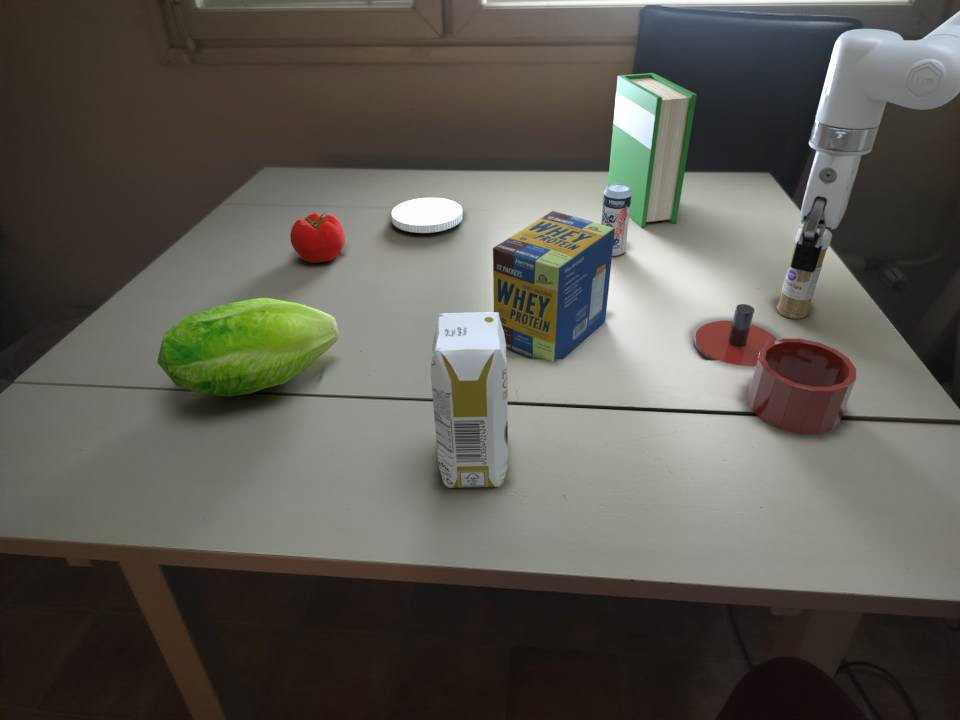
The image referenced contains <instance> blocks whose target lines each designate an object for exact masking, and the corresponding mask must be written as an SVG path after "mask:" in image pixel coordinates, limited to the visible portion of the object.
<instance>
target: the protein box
mask: <svg viewBox="0 0 960 720" xmlns="http://www.w3.org/2000/svg"><path fill="white" fill-rule="evenodd" d="M614 233H615V228H613V227H609V226H606V225H602V224H601V223H599V222H598V223H597V222H596V221H595V222H594V221H591V220H587V219H584V218H580V217H577V216H573V215H569V214H565V213H562V212H558V211H554V210H551V211H550V212H548V213H547V214H544V216H542V217H541V218H539V219H537V220H536V221H534V222H532V223H530V224H529V225H528V226H526V227H524V228H522V229H521V230H520V231H518V232H516V233H514V234H513V235H511V236H509V237H508V238H507V239H505V240H503V241H502V242H500V243H498V244H497V245H495V246H493V247H492V274H493V275H492V278H493V280H492V283H493V285H492V288H493V289H492V291H493V312H499V318H500V321H501V325H502V328H503V332H504V336H505V341H506V350H510V351H512V352H515V353H517V354H519V355H521V356H524V357H527V358H529V359H532V360H547V361H550V362H556V361H557V360H563V359H564V358H566V356H568V355H569V354H570V353H571V352H572V351H573V350H574V349H575V348H577V347H578V346H579V345H580V344H581V343H582V342H583V341H585V340H586V339H587V338H588V337H589V336H590V335H591V334H593V333H594V331H596V330H597V329H598V328H599V327H600V326H602V324H604V323H605V322H606V319H607V308H608V298H609V291H610V280H611V270H612V261H613V256H612V251H613V242H614Z"/></svg>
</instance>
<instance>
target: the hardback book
mask: <svg viewBox="0 0 960 720" xmlns="http://www.w3.org/2000/svg"><path fill="white" fill-rule="evenodd" d="M616 79H617V80H616V90H615V101H614V110H613V111H614V113H613V123H612V135H611V144H610V145H611V146H610V156H609V168H608V178H607V186H608V185H611V184H624V185H627V186H629V187H630V190H631V192H632V195H631V204H630V213H629V218H630V219H632V220H633V221H634V222H635V223H636V224H637V225H638V226H639V227H640V228H646V226H647V223H650V222H658V221H668V222H670V223H671V224H677V222H678V216H679V210H680V203H681V197H682V190H683V184H684V178H685V173H686V167H687V166H686V165H687V159H688V152H689V147H690V140H691V134H692V126H693V120H694V116H695V108H696V101H697V96H698V95H697V93H695V92H692V91H691V90H688V89H686V88H684V87H683V86H680V85H679V84H677V83H674V82H672V81H671V80H668V79H667V78H664V77H662V76H660V75H658V74H656V73H654V72H647V73H646V72H645V73H637V74H636V73H635V74H634V73H633V74H622V75H621V74H620V75H617V77H616Z"/></svg>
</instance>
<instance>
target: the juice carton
mask: <svg viewBox="0 0 960 720" xmlns="http://www.w3.org/2000/svg"><path fill="white" fill-rule="evenodd" d="M432 340H433V341H432V355H431V361H430V382H431V393H432V405H433V416H434V429H435V441H436V452H437V462H438V463H437V464H438V470H439V474H440V476H441V480H442V482H443V484H444V485H445V486H446V487H447V488H449V489H451V488H452V489H459V488H464V489H465V488H498V487H500V486H502V485H503V484H504V482H505V478H506V475H507V471H508V465H509V462H508V461H509V460H508V459H509V439H508V438H509V431H508V430H509V424H508V423H509V422H508V420H509V419H508V417H509V411H508V409H509V408H508V407H509V406H508V405H509V403H508V398H509V396H508V395H509V393H508V391H509V389H508V388H509V385H508V384H509V383H508V360H507V348H506V341H505V336H504V332H503V328H502V325H501V321H500V318H499V312H494V311H483V312H482V311H475V312H474V311H473V312H470V311H469V312H466V311H465V312H443V313H438V314H437V321H436V326H435V329H434V334H433V339H432Z"/></svg>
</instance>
